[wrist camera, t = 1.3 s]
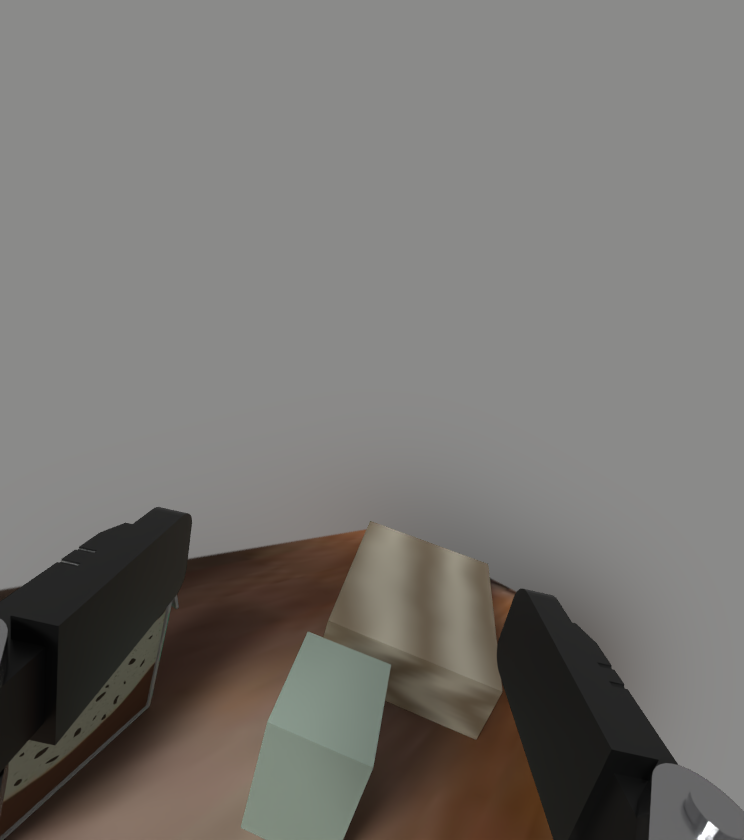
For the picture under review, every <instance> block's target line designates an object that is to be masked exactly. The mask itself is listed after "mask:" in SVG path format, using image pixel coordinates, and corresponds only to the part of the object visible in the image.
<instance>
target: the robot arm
mask: <svg viewBox="0 0 744 840" xmlns="http://www.w3.org/2000/svg"><path fill="white" fill-rule="evenodd" d="M191 526H192V518H191V515H190V514H188V513H183V512H179V511H174V510H169V509H165V508H161V507H156V508H154V509H152V510H151V511H150V512H148V513H147V514H146V515H144V516H143V517H142V518H140V519H139V520H138V521H136V522H135V523H134V524H129V523H124V524H121V525H119V526H116V527H113V528H111V529H108V530H106V531H103V532H100V533H99V534H97V535H96V536H94V537H93V538H91V539H90V540H89V541H87V542H86V543H84V544H83V545H81V546H80V547H79V549H78V550H74V551H73V552H71V553H70V554H68V555H67V556H65V557H64V558H63V559H62V560H61V562H60V563H58V562H57V563H55V564H54V565H52V566H51V567H50V568H48V569H47V570H45V571H44V572H42V573H41V574H39V575H38V576H36V577H35V578H34V579H32V580H31V581H29V582H28V583H26V584H25V585H23V586H22V587H21V588H19V589H18V590H16V591H15V592H13V593H12V594H10V595H9V596H8V597H6V598H5V599H3V600H2V601H0V816H1V811H2V805H3V800H4V794H5V789H6V783H7V778H8V770H9V762H10V761H11V760H12V759H13V757H14V756H15V755H16V754H17V753H18V752H19V751H20V749H21V748H22V747H23V746H24V745H25V744H26V743H27V742H28V740H31V741H36V742H41V743H45V744H50V745H56V744H57V743H58V742H59V740H60V739H61V738H62V737H63V735H64V734H65V733H66V732H67V730H68V729H69V728H70V727H71V726H72V724H73V723H74V722H75V721H76V719H77V718H78V717H79V716H80V714H81V713H82V712H83V711H84V709H85V708H86V707H87V706H88V704H89V703H90V702H91V701H92V699H93V698H94V697H95V696H96V695H97V693H98V692H99V691H100V690H101V688H102V687H103V686H104V685H105V683H106V682H107V681H108V680H109V678H110V677H111V676H112V675H113V673H114V672H115V671H116V670H117V669H118V667H119V666H120V665H121V664H122V662H123V661H124V660H125V659H126V657H127V656H128V655H129V654H130V652H131V651H132V650H133V649H134V647H135V646H136V645H137V644H138V643H139V641H140V640H141V639H142V638H143V636H144V635H145V634H146V633H147V631H148V630H149V629H150V628H151V626H152V625H153V624H154V623H155V621H156V620H157V619H158V618H159V617H160V615H161V614H162V613H163V612H164V610H165V609H166V608H167V607H168V605H169V604H170V603H171V602H172V600H173V599H174V598H175V596H176V595H177V593H178V591H179V589H180V587H181V585H182V583H183V580H184V577H185V573H186V568H187V559H188V551H189V543H190V534H191ZM497 666H498V671H499V674H500V677H501V680H502V683H503V686H504V689H505V692H506V695H507V698H508V702H509V705H510V708H511V711H512V714H513V717H514V720H515V723H516V726H517V729H518V732H519V735H520V738H521V741H522V744H523V747H524V751H525V754H526V757H527V760H528V763H529V766H530V769H531V772H532V775H533V778H534V781H535V784H536V787H537V790H538V793H539V796H540V800H541V803H542V806H543V809H544V812H545V815H546V818H547V821H548V824H549V827H550V830H551V833H552V836H553V839H554V840H744V811H743V810H742V809H741V808H740V807H739V806H738V805H737V804H736V803H735V802H734V801H733V800H732V799H730V798H729V797H728V796H727V795H726V794H725V793H724V792H722V791H721V790H720V789H719V788H717V787H716V786H715V785H713V784H712V783H711V782H709V781H708V780H707V779H705V778H703V777H702V776H700V775H699V774H697V773H695V772H693V771H691V770H689V769H687V768H685V767H682V766H680V765H678V764H677V762H676V761H675V759H674V758H673V756H672V755H671V753H670V752H669V750H668V749H667V748H666V746H665V744H664V743H663V741H662V740H661V739H660V737H659V736H658V734H657V733H656V731H655V730H654V728H653V727H652V725H651V724H650V722H649V721H648V719H647V718H646V716H645V715H644V713H643V712H642V710H641V709H640V707H639V706H638V704H637V703H636V701H635V700H634V698H633V697H632V695H631V694H630V692H629V691H628V690H627V689H625V688H624V683H623V682H622V680H621V679H620V678H619V676H618V674H617V673H616V672H615V670H612V669H611V664H610V663H609V661H608V660H607V658H606V657H605V656H604V654H603V652H602V651H601V649H600V648H599V646H598V645H597V643H596V642H595V641H593V640H592V639H591V638H590V637H589V636H588V635H587V634H586V633H585V632H584V631H583V630H582V629H581V628H580V627H579V626H578V625H577V624H575V623H572V622H571V620H570V619H569V617H568V616H567V614H566V612H565V611H564V610H563V608H562V606H561V605H560V603H559V602H558V600H557V599H556V598H555V597H554V596H552V595H548V594H544V593H539V592H535V591H530V590H525V589H519V590H518V591H517V592H516V594H515V596H514V599H513V601H512V604H511V607H510V610H509V613H508V615H507V618H506V621H505V624H504V627H503V629H502V632H501V635H500V638H499V641H498V645H497Z"/></svg>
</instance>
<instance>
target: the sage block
mask: <svg viewBox="0 0 744 840" xmlns="http://www.w3.org/2000/svg"><path fill="white" fill-rule="evenodd" d="M390 668H391V664H388V663H386V662H383V661H381V660H378V659H376V658H373V657H371V656H368V655H366V654H363V653H361V652H358V651H355V650H353V649H350V648H348V647H345V646H343V645H340V644H338V643H335V642H333V641H330V640H328V639H325V638H323V637H320V636H318V635H315V634H313V633H310V632H307V635H306V637H305V639H304V641H303V644H302V646H301V648H300V650H299V653H298V655H297V657H296V659H295V662H294V664H293V666H292V668H291V670H290V673H289V675H288V677H287V679H286V682H285V684H284V686H283V688H282V691H281V693H280V695H279V697H278V700H277V702H276V704H275V706H274V708H273V711H272V713H271V715H270V717H269V720H268V722H267V726H266V730H265V734H264V738H263V742H262V746H261V749H260V753H259V757H258V761H257V765H256V769H255V773H254V777H253V781H252V785H251V789H250V793H249V797H248V801H247V805H246V809H245V813H244V817H243V821H242V824H241V828H242V829H244V830H247V831H249V832H251V833H253V834H255V835H257V836H259V837H261V838H264V839H266V840H343V839H344V836H345V834H346V832H347V829H348V827H349V824H350V822H351V820H352V817H353V815H354V812H355V810H356V808H357V805H358V803H359V801H360V798H361V796H362V793H363V791H364V789H365V786H366V784H367V782H368V779H369V777H370V774H371V772H372V770H373V767H374V761H375V755H376V749H377V743H378V738H379V732H380V726H381V720H382V714H383V709H384V703H385V697H386V691H387V685H388V680H389V674H390Z"/></svg>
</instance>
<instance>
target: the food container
mask: <svg viewBox="0 0 744 840" xmlns="http://www.w3.org/2000/svg"><path fill="white" fill-rule="evenodd" d="M171 606H172V607H174V608H175V609H178V608H179V605H178V598H177V595H176V596H175V598H174V599H173V600H172V602H171V603H170V604H169V605H168V607H167V608H166V609H165V610H164V612H163V613H162V614H161V615H160V617H159V618H158V619H157V620H156V621H155V623H154V624H153V625H152V626H151V628H150V629H149V630H148V631H147V633H146V634H145V635H144V636H143V638H142V639H141V640H140V641H139V643H138V644H137V645H136V646H135V647H134V649H133V650H132V651H131V652H130V654H129V655H128V656H127V657H126V659H125V660H124V661H123V662H122V664H121V665H120V666H119V667H118V669H117V670H116V671H115V672H114V673H113V675H112V676H111V677H110V678H109V680H108V681H107V682H106V683H105V685H104V686H103V687H102V688H101V690H100V691H99V692H98V693H97V695H96V696H95V697H94V698H93V699H92V701H91V702H90V703H89V704H88V706H87V707H86V708H85V709H84V711H83V712H82V713H81V714H80V716H79V717H78V718H77V719H76V721H75V722H74V723H73V724H72V726H71V727H70V728H69V729H68V730H67V732H66V733H65V734H64V735H63V737H62V738H61V739H60V740H59V742H58V743H57V744H56V745H50V744H45V743H41V742H36V741H31V740H28V742H27V743H26V744H25V745H24V746H23V747H22V748H21V749H20V751H19V752H18V753H17V754H16V755H15V756H14V757H13V759H12V760H11V761H10V762H9V770H8V778H7V783H6V789H5V794H4V800H3V805H2V811H1V816H0V840H4V839H5V838H6V837H7V836H8V835H9V834H10V833H11V832H13V831H14V830H15V829H16V828H17V827H18V826H19V825H20V824H21V823H22V822H24V821H25V820H26V819H27V818H28V817H29V816H30V815H31V814H32V813H33V812H35V811H36V810H37V809H38V808H39V807H40V806H41V805H42V804H43V803H44V802H45V801H47V800H48V799H49V798H50V797H51V796H52V795H53V794H54V793H55V792H56V791H58V790H59V789H60V788H61V787H62V786H63V785H64V784H65V783H66V782H67V781H69V780H70V779H71V778H72V777H73V776H74V775H75V774H76V773H77V772H78V771H79V770H81V769H82V768H83V767H84V766H85V765H86V764H87V763H88V762H89V761H90V760H92V759H93V758H94V757H95V756H96V755H97V754H98V753H99V752H100V751H101V750H103V749H104V748H105V747H106V746H107V745H108V744H109V743H110V742H111V741H112V740H114V739H115V738H116V737H117V736H118V735H119V734H120V733H121V732H122V731H123V730H124V729H126V728H127V727H128V726H129V725H130V724H131V723H132V722H133V721H134V720H135V719H137V718H138V717H139V716H140V715H141V714H142V713H143V712H144V711H145V710H146V709H148V708H149V707H150V704H151V699H152V695H153V690H154V685H155V681H156V676H157V671H158V667H159V662H160V657H161V652H162V648H163V643H164V638H165V634H166V629H167V624H168V620H169V615H170V610H171Z"/></svg>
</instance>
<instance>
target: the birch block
mask: <svg viewBox="0 0 744 840" xmlns="http://www.w3.org/2000/svg"><path fill="white" fill-rule="evenodd" d="M323 638H325V639H328V640H330V641H333V642H335V643H338V644H340V645H343V646H345V647H348V648H350V649H353V650H355V651H358V652H361V653H363V654H366V655H368V656H371V657H373V658H376V659H378V660H381V661H383V662H386V663H388V664H391V668H390V674H389V680H388V685H387V691H386V697H385V701H387V702H389V703H391V704H394V705H396V706H398V707H401V708H403V709H405V710H408V711H410V712H412V713H415V714H417V715H419V716H422V717H424V718H426V719H429V720H431V721H433V722H436V723H438V724H440V725H443V726H445V727H447V728H450V729H452V730H454V731H457V732H459V733H461V734H464V735H466V736H468V737H471V738H473V739H475V740H476V739H477V738H478V736H479V734H480V732H481V730H482V728H483V727H484V725H485V723H486V721H487V719H488V717H489V716H490V714H491V712H492V710H493V708H494V706H495V705H496V703H497V701H498V699H499V697H500V695H501V694H502V692H503V691H502V682H501V677H500V674H499V671H498V666H497V638H496V630H495V621H494V612H493V603H492V595H491V586H490V577H489V568H488V564H486V563H484V562H481V561H478V560H475V559H472V558H470V557H467V556H464V555H461V554H459V553H456V552H453V551H451V550H448V549H445V548H443V547H440V546H437V545H434V544H432V543H429V542H426V541H424V540H421V539H418V538H415V537H413V536H410V535H407V534H404V533H402V532H399V531H396V530H393V529H391V528H388V527H385V526H382V525H380V524H377V523H374V522H371V521H370V523H369V525H368V527H367V530H366V532H365V535H364V537H363V539H362V542H361V544H360V546H359V549H358V551H357V554H356V556H355V558H354V561H353V563H352V565H351V568H350V570H349V572H348V575H347V577H346V580H345V582H344V584H343V587H342V589H341V591H340V594H339V596H338V598H337V601H336V603H335V606H334V608H333V610H332V613H331V615H330V617H329V620H328V623H327V626H326V630H325V633H324V636H323Z"/></svg>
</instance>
